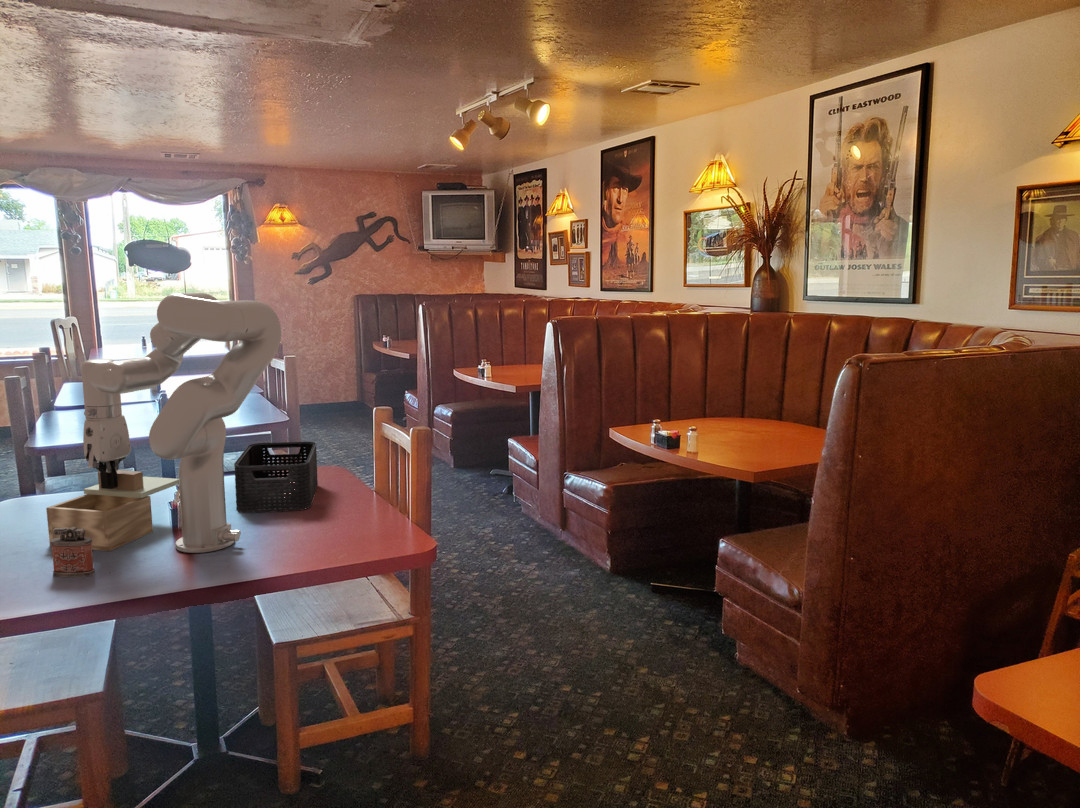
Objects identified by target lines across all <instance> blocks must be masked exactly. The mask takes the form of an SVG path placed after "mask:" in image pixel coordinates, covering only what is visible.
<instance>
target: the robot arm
mask: <svg viewBox="0 0 1080 808" xmlns="http://www.w3.org/2000/svg"><path fill="white" fill-rule="evenodd" d="M156 317H157V323H156V324H155V325H154V326H152V328H151V329H150V333H149V338H150V341H151V343H152V345H153V346H154V349H153V350H152V351H151V352H150V353H148V354H147V355H146V356H144V357H138V358H137V357H136V358H127V359H124V360H123V359H121V360H115V359H109V358H107V359H106V358H98V359H97V358H96V359H88V360H85V361H83V362H82V364H81V366H80V367H81V369H80V370H81V380H82V392H83V404H84V412H83V415H84V416H85V419H84V423H83V437H82V440H83V444H82V445H83V453H84V459H85V461H86V462H88V463H87V465H88V466H87V467H88V468H89V469H96V470H97V473H98V472H100V477H101V487H102V488H104V489H113V488H116V487H118V482H117V470H120V469H119V468H120V463H121V462H122V461H123V460H125V459H126V458H127V456H129V455H130V453H131V441H130V434H129V429H128V424H127V420H126V418H125V415H124V414H122V413H123V412H122V399H121V395H123V394H127V393H129V394H130V393H134V392H139V391H145V390H150V389H155V388H156V387H158V386H160V385H161V384H163V383H164V382H165V381H167V380H168V379H169V378H170V377H171V376H172V375H174V374H175V373H176V372H177V371H178V370H179V369H180V367H181V365H182V363H183V359H184V354H186V353H187V352H188V351H189V350H190V349H191V348H193V346H195V345H196V344H197V343H198V342H200V341H201V340H205V341H206V340H207V341H212V342H221V343H228V342H237V341H238V343H237V344H236V345H234V347H231V349H230V350H229V351H228V352H227V353H226V354H225V355H224V356H223V359H222V360H221V362H220V363H219V365H218V366H217V367H216V369H215V370H214V371H213V372H212V373H210V374H209V375H207V376H203V377H202V376H201V377H198V378H192V379H189V380H187V381H185V382H183V383H182V384H180V385H178V386H177V387H176V388H175V389H174V391H173V392H172V394H171V395H170V397H169V398H168V399H167V401H166V402H165V404H164V405H163V408H161V411H160V412H159V413H158V415H157V416H156V418H155V419H154V421H153V423H152V425H151V427H150V430H149V433H148V443H149V447H150V449H151V451H152V452H153V453H154V455H156V457H158V458H161V459H163V460H168V461H171V460H172V461H173V460H178V459H179V460H180V461H179V465H178V479H179V484H178V490H179V503H180V507H179V508H180V520H181V534H182V535H181V536H182V537H179V538H178V539H177V540H176V541H175V549H176V550H178V551H179V552H181V553H182V552H183V553H189V554H190V553H191V554H196V553H197V554H198V553H199V554H200V553H210V552H214V551H215V552H216V551H220V550H222V549H223V550H224V549H225V548H227V547H230V546H231V545H233V544H234V543H235V542H238V541H239V540H240V538H241V537H240V536H241V534H242V532H241V529H240V530H238V529H232V523H229V522H227V506H226V491H225V488H226V487H225V470H224V469H225V466H224V465H225V464H224V455H225V448H226V447H225V445H226V439H227V428H226V427H227V426H226V424H225V421H224V419H223V418H226V417H229V416H232V415H233V414H235V413H236V412H237V411H238V410H239V409H240V407H241V406H242V404H243V403H244V401H245V400H246V398H247V397H248V396H249V394H250V392H251V391H252V390H253V388H254V387H255V385H256V383H257V382H258V380H259V379H260V378H261V376H262V374H263V373H265V370H266V369H267V368H268V366H269V365H270V364H271V362H272V361H273V360H274V358H275V356H276V354H277V352H278V350H279V348H280V345H281V340H282V327H281V325H282V324H281V321H280V318H279V316H278V314H277V313H276V311H275V310H274V308H272V307H271V306H270V305H269V304H267V303H265V302H262V301H258V300H252V299H251V300H250V299H249V300H244V299H243V300H242V299H241V300H219V299H217V298H216V297H215V296H213V295H211V294H209V293H205V292H174V293H171V294H168V295H167V296H165V297H164V298H163V299H162V300H161V301H159V304H158V306H157V309H156Z"/></svg>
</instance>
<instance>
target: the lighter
mask: <svg viewBox="0 0 1080 808" xmlns="http://www.w3.org/2000/svg"><path fill="white" fill-rule="evenodd" d="M53 535H61V536H60V538H55V539H52V540H50V542H49V546H50V545H52V546H51V553H52V554H51V555H52V556H51V557H52V562H53V563H52V564H53V571H52V575H53V577H58V578H81V577H89V576H94V574H95V573H96V572H95V567H94V561H93V559H94V558H93V550H92V546H91V543H92V538H88V537H84V536H85V529H77V527H71V528H70V529H67V528H55V529H54V530H53ZM65 535H66V537H65Z"/></svg>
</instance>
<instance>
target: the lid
mask: <svg viewBox="0 0 1080 808" xmlns="http://www.w3.org/2000/svg"><path fill="white" fill-rule="evenodd" d="M97 479H98V480H97V481H98V484H94V485H92V486H88V487H86V488H83V495H86V494H93V495H106V496H119V497H132V498H143V497H146V496H152V495H153V494H156V493H159V492H162V491H165V490H167V489H169V488H173V487H175V486H179V478H171V477H157V476H144V475H143V471H140V470H139V471H135V470H124V469H123V470H120V469H118V470H117V482H118V487H116V488H113V489H104V488H102V487H101V477H100V472H98V471H97Z"/></svg>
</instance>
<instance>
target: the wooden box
mask: <svg viewBox="0 0 1080 808" xmlns="http://www.w3.org/2000/svg"><path fill="white" fill-rule="evenodd" d="M45 508H46V520H47V528H48V529H47V531H48V539H49V541H48V542H49V543H50V540H52V539H55V538H60V536H61V535H53V530H54V529H55V528H67V529H70V528H71V527H77V529H85V536H84V537H88V538H92V543H91V546H92V551H93V550H94V551H103V552H111V551H114V550H116V549H118V548H120V547H122V546H125V545H126V544H129V543H131V542H134V541H136V540H138V539H140V538H142V537H144V536H145V537H146V536H147V535H149V534H151V533H153V532H154V529H153V514H152V500H151V495H149V496H146V497H143V498H132V497H119V496H106V495H93V494H83V495H81V496H77V497H73V498H71V499H69V500H65V501H62V502H59V503H57V504H54V505H51V506H48V507H45ZM65 537H66V535H65ZM49 546H51V547H52V545H50V544H49Z"/></svg>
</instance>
